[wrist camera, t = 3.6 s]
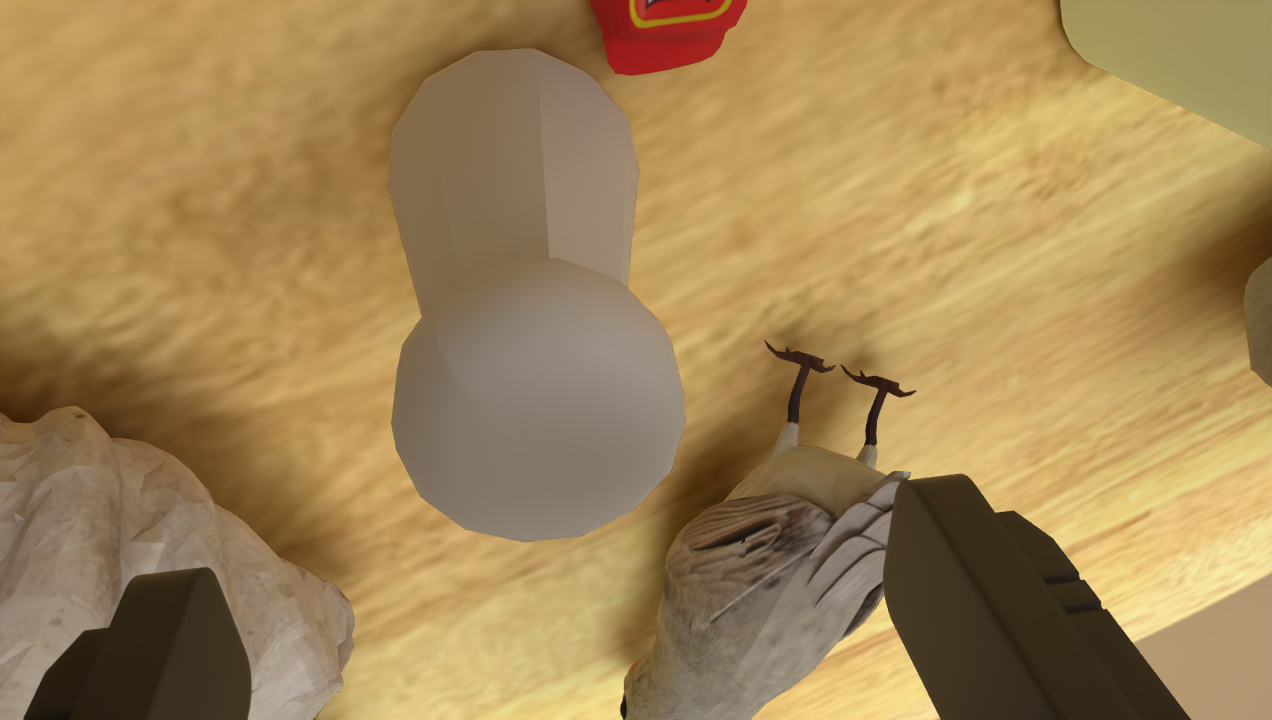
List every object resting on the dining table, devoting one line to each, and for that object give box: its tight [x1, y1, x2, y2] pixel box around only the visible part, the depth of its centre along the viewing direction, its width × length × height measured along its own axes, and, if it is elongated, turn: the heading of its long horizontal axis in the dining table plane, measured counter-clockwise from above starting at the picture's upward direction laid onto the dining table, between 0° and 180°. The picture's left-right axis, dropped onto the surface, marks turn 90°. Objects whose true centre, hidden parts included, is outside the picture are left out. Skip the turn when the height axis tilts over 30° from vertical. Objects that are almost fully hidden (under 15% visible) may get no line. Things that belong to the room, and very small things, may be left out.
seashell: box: [0, 405, 355, 720], centre depth 23 cm, size 10×15×10 cm
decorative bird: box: [620, 341, 916, 720], centre depth 29 cm, size 5×16×8 cm, turn 156°
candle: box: [1060, 0, 1272, 149], centre depth 20 cm, size 5×5×8 cm
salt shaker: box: [387, 48, 686, 542], centre depth 18 cm, size 6×6×13 cm
